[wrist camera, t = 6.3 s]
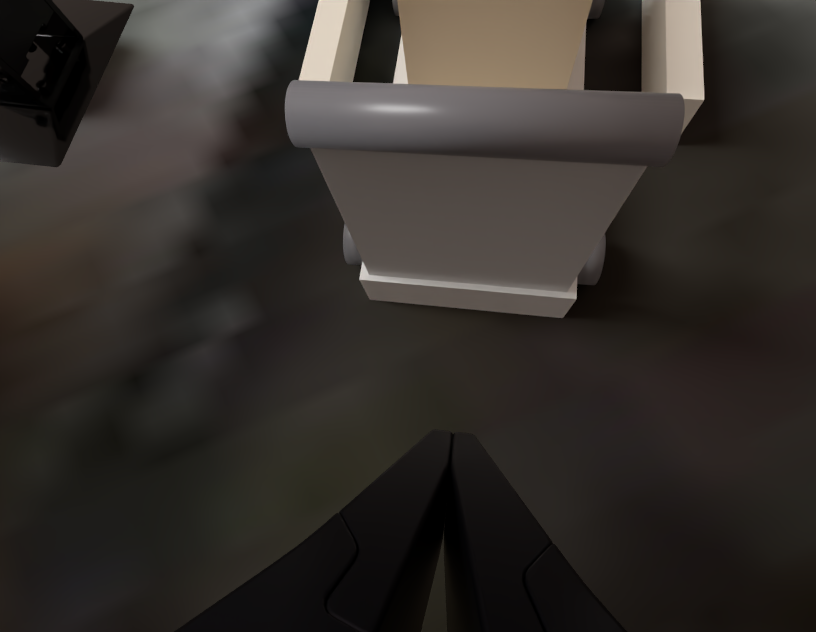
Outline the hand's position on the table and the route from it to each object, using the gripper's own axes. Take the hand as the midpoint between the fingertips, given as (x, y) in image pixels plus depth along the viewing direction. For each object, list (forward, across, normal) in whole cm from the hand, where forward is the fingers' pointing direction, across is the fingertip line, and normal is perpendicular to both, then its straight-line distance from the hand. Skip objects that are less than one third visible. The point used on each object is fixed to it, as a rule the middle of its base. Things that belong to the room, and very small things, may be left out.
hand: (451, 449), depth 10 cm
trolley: (+14, 0, +5) cm, 15 cm away
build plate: (+16, -21, +6) cm, 27 cm away
